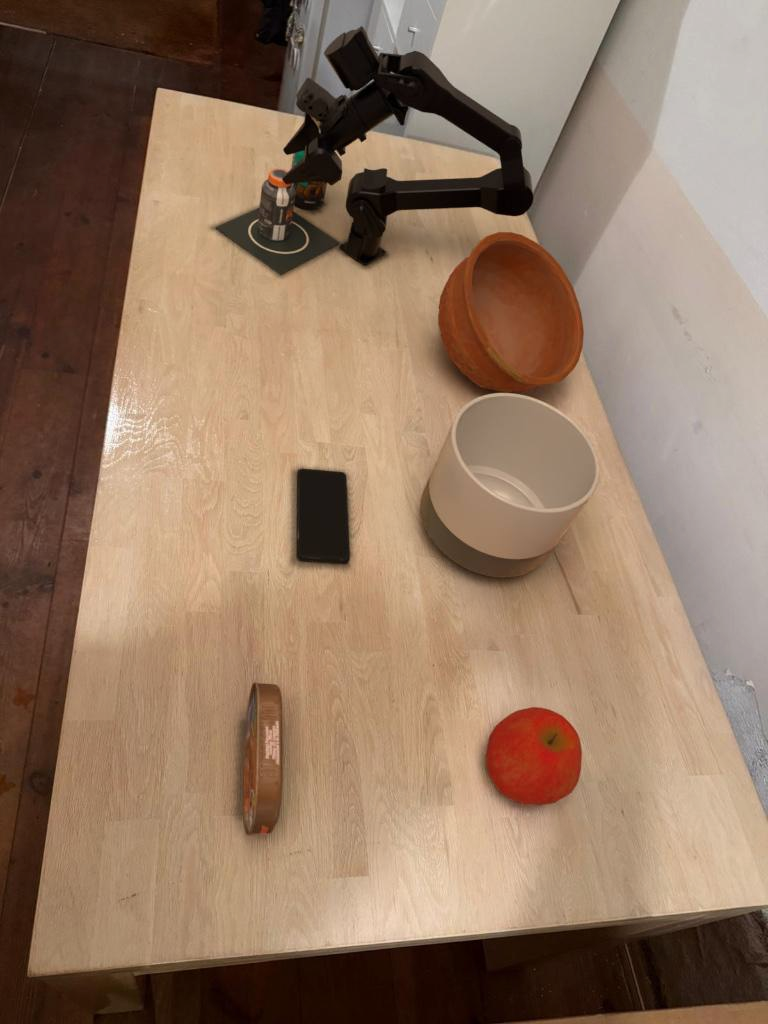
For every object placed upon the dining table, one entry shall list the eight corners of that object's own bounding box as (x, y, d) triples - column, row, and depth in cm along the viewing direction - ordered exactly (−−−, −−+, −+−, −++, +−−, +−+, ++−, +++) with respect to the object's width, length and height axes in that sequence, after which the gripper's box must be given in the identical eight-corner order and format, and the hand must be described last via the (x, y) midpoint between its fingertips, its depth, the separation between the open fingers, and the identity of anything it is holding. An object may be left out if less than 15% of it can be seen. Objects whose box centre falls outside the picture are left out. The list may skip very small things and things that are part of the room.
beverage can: (316, 216, 142) (326, 156, 133) (282, 203, 142) (289, 142, 133) (328, 199, 147) (338, 139, 137) (294, 186, 147) (303, 126, 137)
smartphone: (296, 558, 94) (297, 467, 103) (296, 561, 95) (296, 471, 104) (350, 561, 96) (346, 471, 105) (349, 564, 96) (345, 475, 105)
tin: (246, 700, 83) (252, 668, 76) (274, 700, 84) (283, 669, 77) (241, 844, 74) (248, 822, 67) (273, 843, 75) (283, 821, 68)
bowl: (385, 350, 117) (444, 313, 104) (440, 243, 127) (499, 197, 115) (494, 440, 126) (560, 416, 114) (537, 334, 137) (601, 301, 124)
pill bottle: (289, 244, 134) (297, 186, 125) (256, 238, 133) (262, 179, 124) (290, 225, 138) (298, 167, 129) (258, 219, 137) (264, 161, 128)
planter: (438, 597, 97) (482, 518, 83) (398, 481, 107) (431, 394, 93) (566, 580, 103) (626, 504, 89) (516, 472, 113) (564, 389, 100)
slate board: (276, 201, 142) (276, 199, 142) (339, 244, 138) (339, 242, 138) (215, 228, 133) (215, 226, 133) (281, 275, 129) (281, 273, 129)
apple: (576, 799, 85) (619, 770, 76) (498, 826, 81) (535, 798, 73) (538, 715, 90) (574, 679, 82) (463, 736, 86) (493, 701, 78)
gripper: (330, 41, 119) (255, 98, 125) (333, 97, 108) (250, 156, 114) (368, 101, 126) (295, 152, 133) (374, 159, 115) (295, 211, 122)
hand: (284, 166), depth 125 cm, fingers open, 9 cm apart
